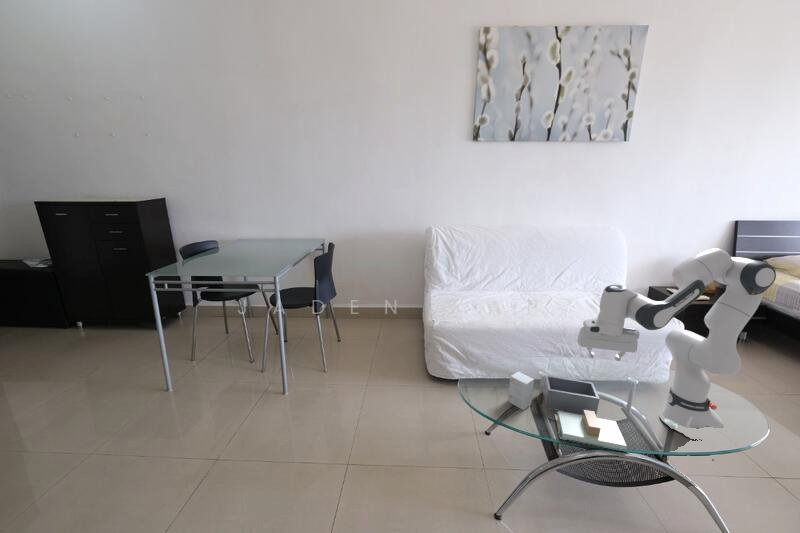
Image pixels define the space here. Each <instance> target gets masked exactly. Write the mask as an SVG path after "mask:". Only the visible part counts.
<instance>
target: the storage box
mask: <svg viewBox="0 0 800 533" xmlns="http://www.w3.org/2000/svg"><path fill="white" fill-rule="evenodd" d="M543 395H544V397H543V402H544V406H545V409H549V408H551V409H550V410H554V409H557V410H556V411H563V412H568V413H573V414H579V415H583V410H589V411H594V412H595V414H596V415H597V414H598V413H597V412H598V408H599V404H600V396H599V394H598V391H597V389H596V387H595V385H594V383H593V382H592V381H591V382H590V381H584V380H578V379H573V378H565V377H562V376H561V377H559V376H555V375H554V376H553V375H547V374H545V375H544V381H543V387H542V396H543Z"/></svg>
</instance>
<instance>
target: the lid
mask: <svg viewBox="0 0 800 533" xmlns="http://www.w3.org/2000/svg"><path fill="white" fill-rule="evenodd" d="M557 413H558V417H559V423H560V430H561V435H562V438H565V439H570V440H575V441H579V442H584V443H589V444H594V445H599V446H604V447H609V448H619V449H625V450H626V447H627V448H628V446H627V444H626V441H625V439H624V436H623V434H622V432H621V430H620V428H619V425H618V423H617V421H616V420H611V419H605V418H600V417H597V414H595V412H594V411H589V410H583V415H581V414H576V413H571V412H565V411H560V410H557Z"/></svg>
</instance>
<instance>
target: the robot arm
mask: <svg viewBox="0 0 800 533" xmlns="http://www.w3.org/2000/svg"><path fill="white" fill-rule="evenodd" d="M776 278H777V273H776V268H775V267H774V266H772V264H769V263H767V262H764V261H762V260H754V259H751V258H746V257H742V256H741V257H740V256H739V257H736V256H731V255H730V254H729V252H727V251H726V250H724V249H721V248H710V249H706V250H703V251H702V252H698V253H696V254H694V255H692V256H690V257H688V258H687V259H685V260H683V261H681V262H680V263H678V264H677V265H676V266H675V267H673V270H672V280H673V283H674V284H675V286H676V287H677V288H678V290H676V291H675V292H673V294H671V295H669V297H667V298H665V299H664V300H660V301H657V300H653V299H651V298H649V297H647V296H645V295H643V294H641V293H639V292H636V291H632V290H631V289H629V288H628V287H627V286H625V285H621V284H610V285H608V286H606V287H605V288H604V290H603V292H602V294H601V296H600V302H599V313H598V314H597V317H595V318H590V319H586V320H585V319H584V320H583V322H582V323H583V326H582V327H581V328H580V329H579V332H578V335H577V344H578V345H579V347H581V348H586V350H587V352H588V357H589V358H590V359H591V358H592V359H593V358H594V357H595V353H594V351H592V350H593V349H597V350H599V349H600V350H605V351H606V350H608V351H614V352H615V351H616V352H619V353H618V354H615V357H614V359H615V361H616V362H617V361H618V362H621V361H622V357H624V356H625V355H626V353H636V352H637V351H638V344H639V343H638V339H640V334H641V333H640V331H639V330H637V329H636V328H629V327H624V326H625V320H626V318H627V319H630V320H632V321H634V322H635V323H637V324H638V325H640V326H641V327H643V328H644V329H645V330H646V331H647V330H648V331H658V330H661V329H662V328H665V327H666V326H667V325H668V324H669V323H670V322H671V321H672V319H673V318H674V317H676V316H678V314H679V313H681V312H682V311H684V310H685V309H686V308H687V307H689V306H691V304H693V303H694V302H695V301H697V300H698V299H699V298H701V296H702V295H703V294H704V292H705V290H706V286H707V285H709V284H710V283H712V282H715V283H719V284H721V285H726V287H725V291H724V293H722V295H720V296H719V298H718V299H717V300H716V301H715V303H714V304H713V305H712V307H711V308H710V309H709V311H708V312H706V315H705V316H704V319H703V322H704V324H705V326H706V327H707V328H708V329H709V330H708V331H709V333H708V336H707V337H704V336H703V335H700V334H698V333H696V332H693V331H691V330H687V329H683V328H675V329H672V330H670V331H669V332H668V333H667V335H666V336H665V339H664V341H665V346H666V348H667V349H668V351H669V352H670V354H671V357H672V360H673V364H674V376H673V381H672V385H671V386H672V387H670V389H669V392H668V395H667V402H666V404H665V406H664V408H663V410H662V411H661V412H662V415H663V416H664V417H665V418H668V419H670V420H672V421H674V422H676V423H678V424H679V425H681V426H684V427H686V428H689V427H690V428H696V429H699V428H704V427H713V428H724V429H725V425H724V421H723V420H722V419H721V417H720V416H719V415H718V414H717V413H716V412H715V410H716V409H717V408H718V407H717V405H716V404H715V403H714V402H712V401H711V400H710V399H709V398H708V395H709V392H710V388H711V380H710V378H709V377H708V375H707V374H706V372H708V373H709V374H710V373H711V374H713V375H716V376H719V377H722V378H729V377H733V376H735V375H737V374H738V373H739V372H740V370H741V368H742V359H741V356H740V355H739V352H738V349H737V341H738V338H739V336H740V334H741V333H742V331H743V329H744V328H745V326H746V325H747V323H748V322H749V321H750V320H751V318H752V317H753V315H754V314H755V313H756V311H757V310H758V308H759V306H760V304H761V302H762V300H763V293H764V292H765V291H767V290H768V289H769V288H770V287H771V286H772V285H773V284H774V282H775V281H776ZM705 371H706V372H705Z"/></svg>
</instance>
